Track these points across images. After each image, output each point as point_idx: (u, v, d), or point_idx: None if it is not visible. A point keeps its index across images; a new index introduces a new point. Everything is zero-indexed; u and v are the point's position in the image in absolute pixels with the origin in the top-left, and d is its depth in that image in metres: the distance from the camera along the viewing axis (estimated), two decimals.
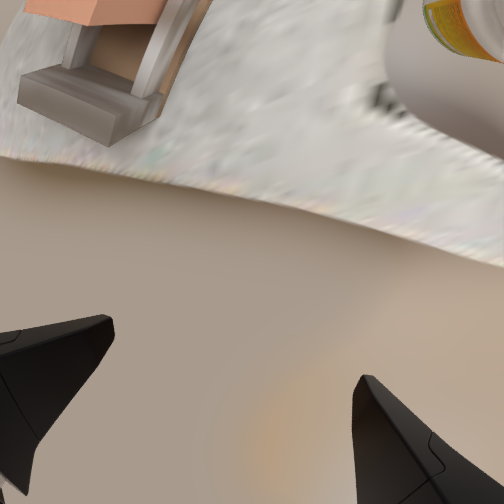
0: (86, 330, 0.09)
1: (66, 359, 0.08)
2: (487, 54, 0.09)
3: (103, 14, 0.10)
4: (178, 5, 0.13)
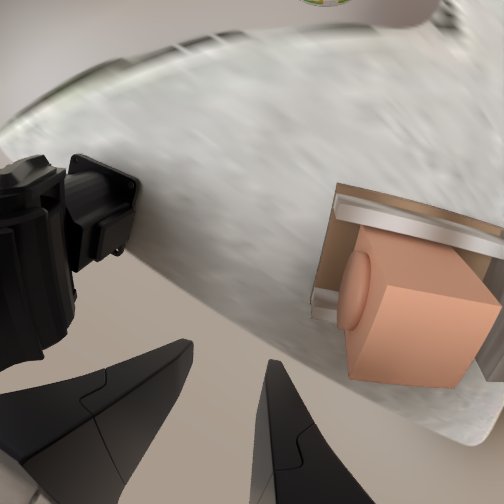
0: (176, 360, 0.09)
1: (157, 395, 0.08)
2: None
3: (486, 295, 0.11)
4: (439, 229, 0.16)
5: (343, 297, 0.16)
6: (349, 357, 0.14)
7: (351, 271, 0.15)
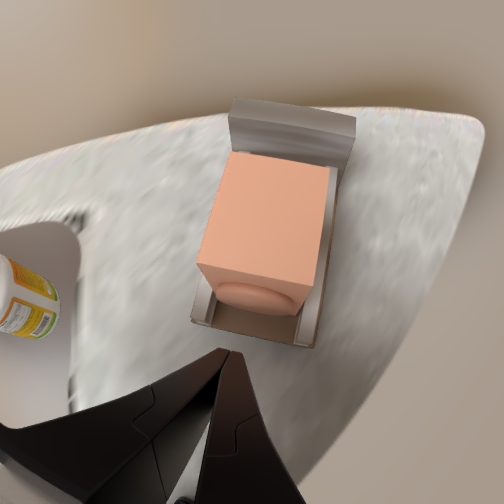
0: (218, 372, 0.08)
1: (202, 408, 0.08)
2: None
3: None
4: None
5: (264, 308, 0.17)
6: (302, 291, 0.14)
7: (236, 302, 0.17)
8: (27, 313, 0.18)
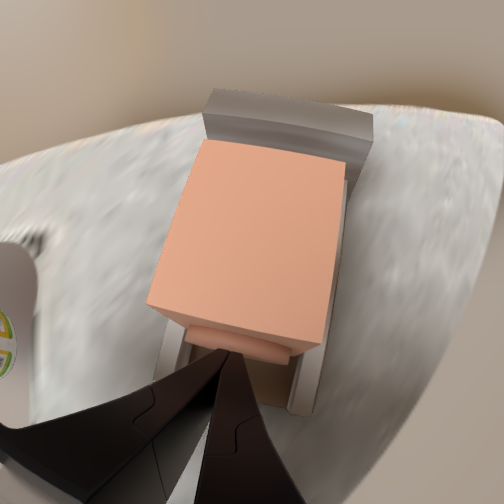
0: (218, 372, 0.08)
1: (201, 408, 0.08)
2: None
3: None
4: None
5: (251, 358, 0.12)
6: (304, 345, 0.09)
7: (213, 348, 0.12)
8: None
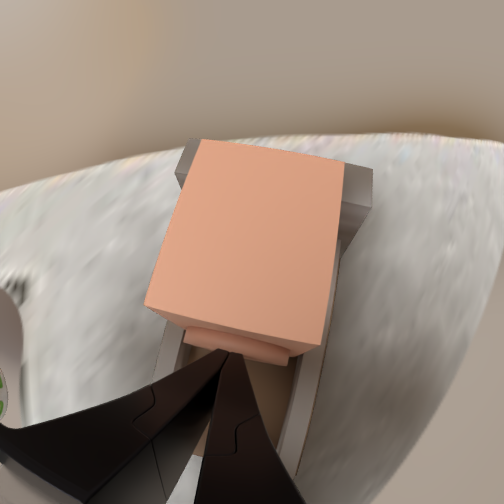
0: (218, 372, 0.08)
1: (202, 408, 0.08)
2: None
3: None
4: (165, 334, 0.14)
5: (250, 359, 0.12)
6: (303, 346, 0.09)
7: (212, 349, 0.12)
8: None
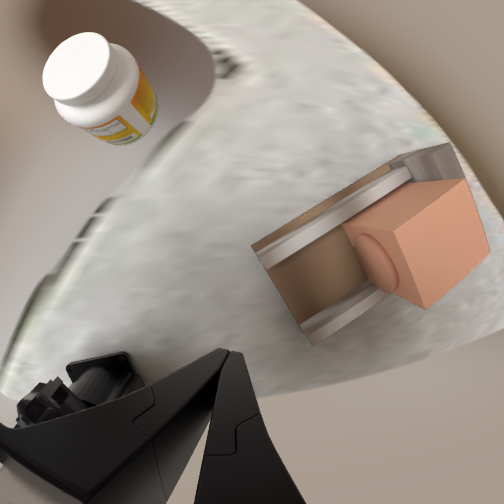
0: (218, 372, 0.08)
1: (201, 408, 0.08)
2: (133, 57, 0.15)
3: (450, 182, 0.15)
4: (338, 210, 0.20)
5: (374, 273, 0.19)
6: (413, 300, 0.17)
7: (364, 253, 0.19)
8: (118, 130, 0.17)
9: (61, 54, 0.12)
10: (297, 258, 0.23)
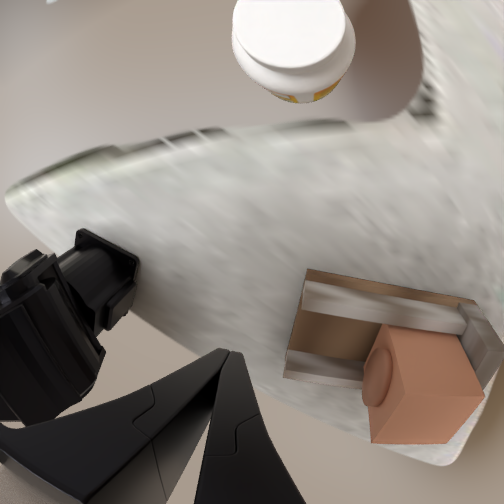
0: (218, 372, 0.08)
1: (201, 408, 0.08)
2: None
3: (475, 386, 0.14)
4: (392, 315, 0.19)
5: (368, 380, 0.19)
6: (371, 426, 0.17)
7: (376, 364, 0.19)
8: (280, 96, 0.15)
9: None
10: None
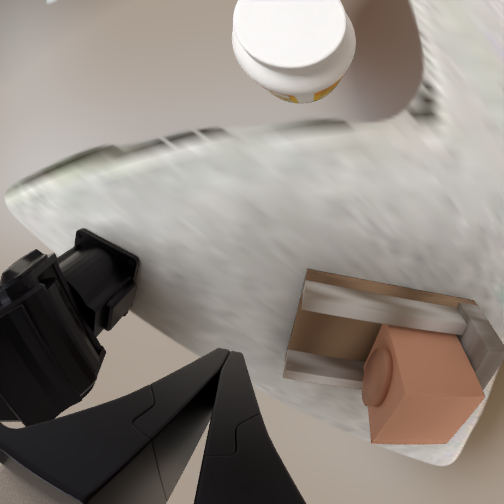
0: (218, 372, 0.08)
1: (202, 408, 0.08)
2: None
3: (475, 386, 0.14)
4: (392, 315, 0.19)
5: (368, 381, 0.19)
6: (371, 426, 0.17)
7: (376, 364, 0.19)
8: (280, 96, 0.15)
9: None
10: None
